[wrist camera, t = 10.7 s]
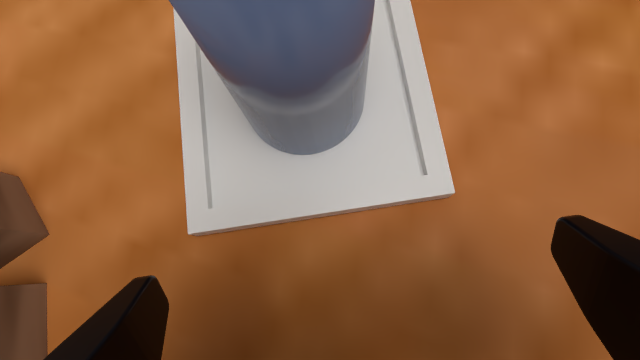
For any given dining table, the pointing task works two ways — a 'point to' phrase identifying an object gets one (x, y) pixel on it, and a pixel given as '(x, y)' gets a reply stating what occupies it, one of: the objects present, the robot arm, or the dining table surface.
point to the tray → (321, 168)
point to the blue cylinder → (288, 64)
